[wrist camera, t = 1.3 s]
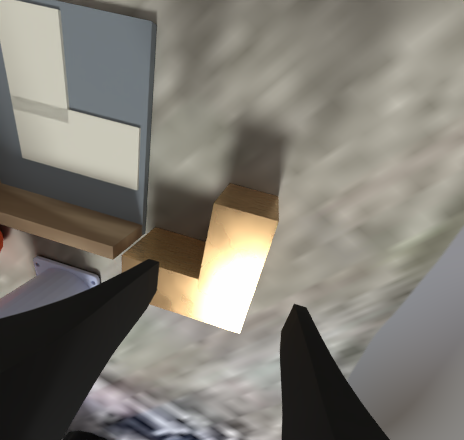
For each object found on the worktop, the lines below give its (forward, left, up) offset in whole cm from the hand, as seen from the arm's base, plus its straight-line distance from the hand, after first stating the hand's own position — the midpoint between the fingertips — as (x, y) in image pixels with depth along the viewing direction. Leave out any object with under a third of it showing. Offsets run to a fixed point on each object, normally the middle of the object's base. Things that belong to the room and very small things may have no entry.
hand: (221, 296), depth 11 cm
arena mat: (+4, +17, -8) cm, 20 cm away
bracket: (-2, +3, -9) cm, 9 cm away
